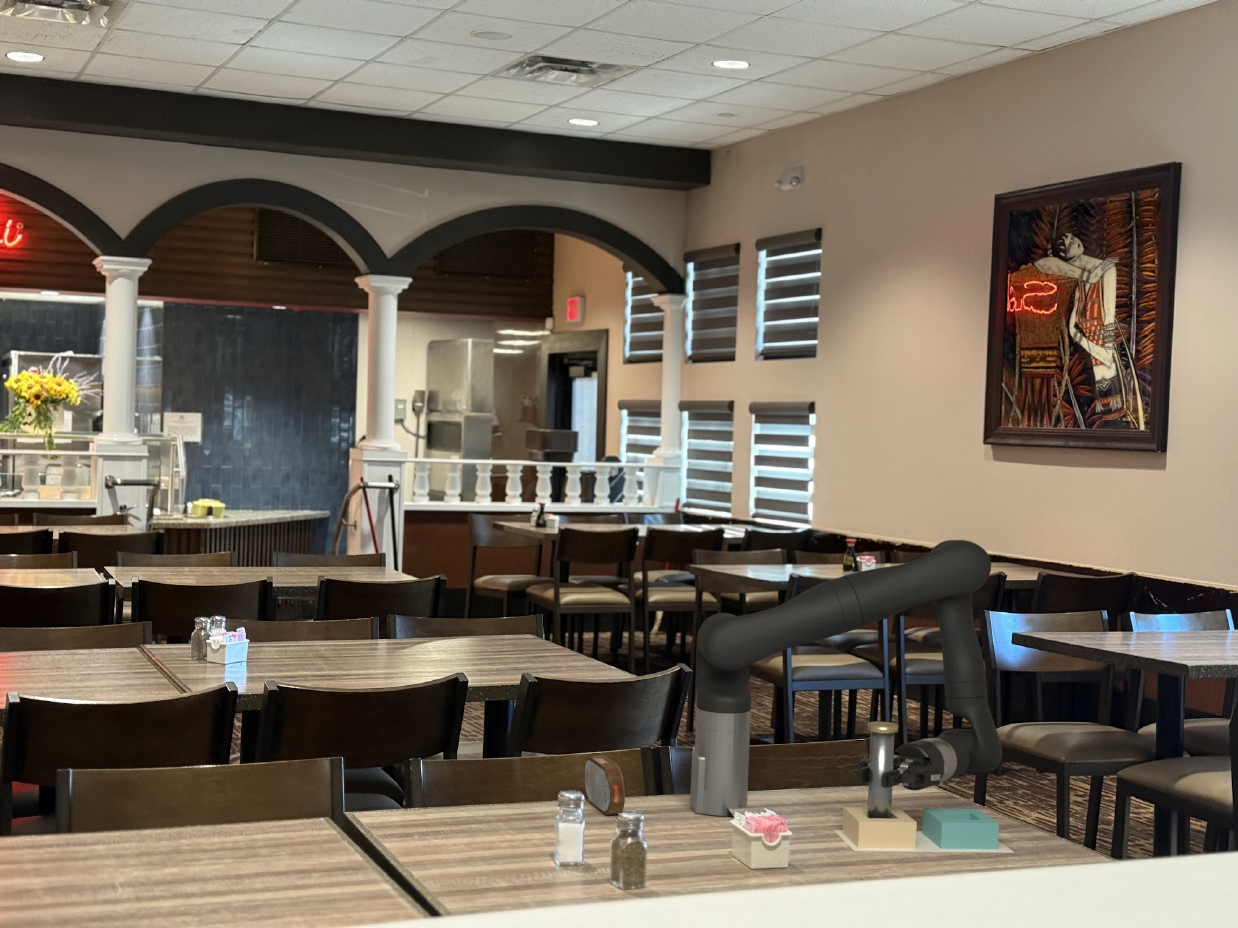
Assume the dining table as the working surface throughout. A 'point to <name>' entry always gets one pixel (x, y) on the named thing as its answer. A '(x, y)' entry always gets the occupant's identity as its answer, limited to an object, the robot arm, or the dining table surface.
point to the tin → (604, 785)
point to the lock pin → (880, 768)
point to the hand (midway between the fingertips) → (872, 778)
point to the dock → (937, 835)
